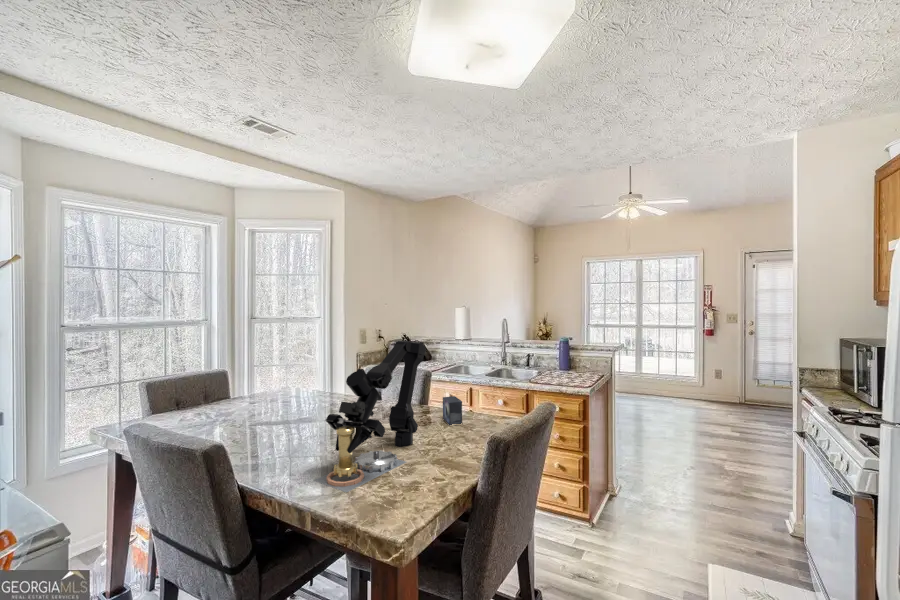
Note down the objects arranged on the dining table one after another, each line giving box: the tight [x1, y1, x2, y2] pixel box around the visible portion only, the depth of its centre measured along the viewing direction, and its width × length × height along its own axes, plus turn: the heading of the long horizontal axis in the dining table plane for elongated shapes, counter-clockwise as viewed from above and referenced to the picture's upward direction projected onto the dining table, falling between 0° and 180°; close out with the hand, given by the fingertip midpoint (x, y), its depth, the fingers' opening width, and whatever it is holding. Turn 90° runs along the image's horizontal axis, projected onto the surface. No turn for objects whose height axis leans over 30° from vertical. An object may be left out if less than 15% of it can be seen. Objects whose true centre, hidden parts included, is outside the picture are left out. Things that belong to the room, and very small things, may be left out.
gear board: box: [313, 458, 407, 493], centre depth 128 cm, size 26×14×2 cm, turn 147°
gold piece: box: [333, 426, 357, 477], centre depth 122 cm, size 7×7×13 cm
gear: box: [354, 450, 398, 473], centre depth 133 cm, size 13×13×4 cm
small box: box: [442, 395, 463, 426], centre depth 185 cm, size 11×6×10 cm, turn 17°
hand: (342, 451), depth 121 cm, fingers closed on gold piece, 4 cm apart
